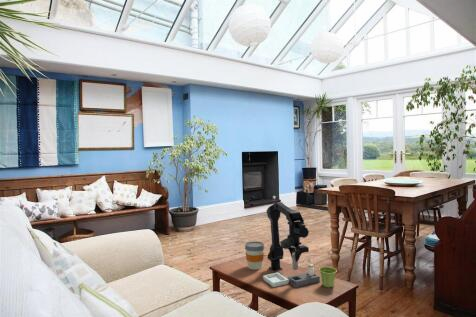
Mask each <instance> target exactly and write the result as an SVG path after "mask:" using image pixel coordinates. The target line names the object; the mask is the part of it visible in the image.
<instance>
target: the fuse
mask: <svg viewBox="0 0 476 317" xmlns="http://www.w3.org/2000/svg"><path fill="white" fill-rule="evenodd" d="M314 267H315V266H314V264H313V263H308V264H307V270H308V272H307V273H308V276H309V277H313V276H314V274H315V273H314V271H315V268H314Z"/></svg>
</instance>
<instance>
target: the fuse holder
mask: <svg viewBox="0 0 476 317" xmlns="http://www.w3.org/2000/svg"><path fill="white" fill-rule="evenodd" d="M287 279H288V280H289V284H291V285H292V286H293V287H295V288H298V287H299V288H300V287H304V286H308V285H312V284H316V283H320V281H321V275H318V274H316V273H314V276H313V277H309V276H308V272H304V273H300V274H295V275H294V274H293V275H290V276H287Z"/></svg>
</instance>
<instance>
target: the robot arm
mask: <svg viewBox="0 0 476 317" xmlns="http://www.w3.org/2000/svg"><path fill="white" fill-rule="evenodd" d="M281 214H283V216H285V219H286V220H287V225H288V231H289V232H288V233H289V234H287V236H286V238H284V239H282V240H281V241H280V230H279V220H280V217H281ZM266 215H267V218H268V220H269V221H270V233H271V234H270V235H271V244H270V246H269V253H268V254H267V260H268V261H270V266H268V268H269V269H270V271H273V272H276V271H281V270H283V268H282V267H281V260H283V259H284V254H285V253H284V250H288V251H289V253H290V254H289V255H290V257H291V258H292V252H294V253H295V260H296V262H298V263H299V260H300V258H301V255H302V254H305V253H309V252H310V248H309V247H308V246H306V245H304V244H302V242H301V241H300V238H302V239H304V238H307V237H308V236H309V229H308V228H307V226H306V225H305V220H304V218H303V216H302V213H301V212H300V210H297V209H292V208H290V207H288V206H287V205H285V204H284V203H283V202H282V201H279V202H278V201H277V202H274V203H273V204H272V205H270V206H268V207H267V209H266Z"/></svg>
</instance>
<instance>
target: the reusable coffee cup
mask: <svg viewBox="0 0 476 317" xmlns="http://www.w3.org/2000/svg"><path fill="white" fill-rule="evenodd" d="M244 247H245V248H244V249H245V257H246V258H245V259H246V261H247V266H248V269H250V270H261V269H262V268H263V261H264V256H265V252H264V250H265V243H264V242H261V241H249V242H245V244H244Z"/></svg>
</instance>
